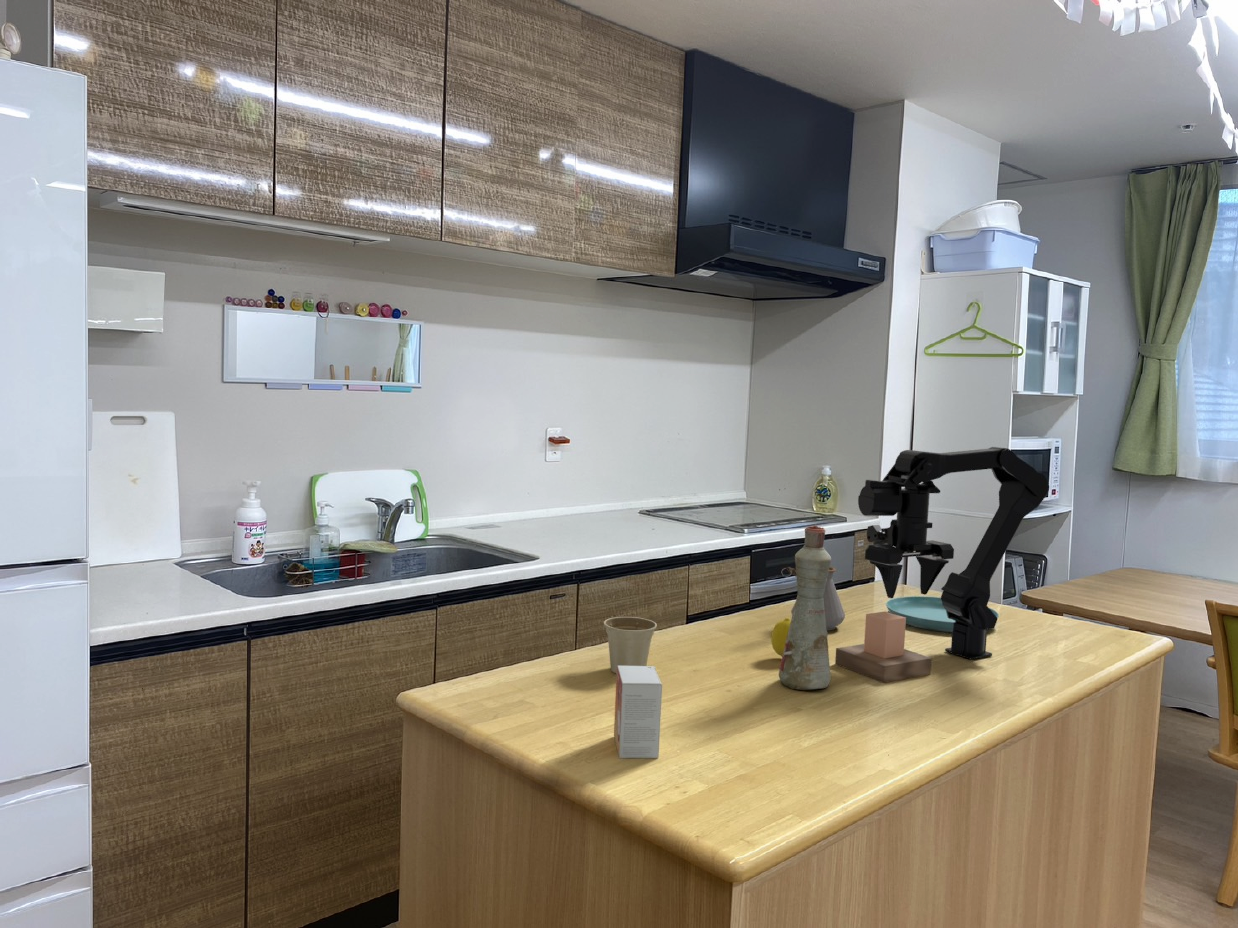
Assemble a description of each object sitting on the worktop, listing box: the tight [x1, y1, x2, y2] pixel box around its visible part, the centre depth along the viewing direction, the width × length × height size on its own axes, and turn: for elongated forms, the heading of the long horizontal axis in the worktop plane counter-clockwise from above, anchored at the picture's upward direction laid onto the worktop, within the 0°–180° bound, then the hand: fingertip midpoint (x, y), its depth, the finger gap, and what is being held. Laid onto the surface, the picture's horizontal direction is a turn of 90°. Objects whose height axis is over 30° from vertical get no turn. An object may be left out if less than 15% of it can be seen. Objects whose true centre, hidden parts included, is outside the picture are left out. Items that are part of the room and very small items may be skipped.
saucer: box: [885, 595, 1000, 633], centre depth 206 cm, size 24×24×3 cm
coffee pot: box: [781, 566, 846, 631], centre depth 193 cm, size 21×12×15 cm, turn 141°
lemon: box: [771, 617, 791, 658], centre depth 171 cm, size 6×6×8 cm
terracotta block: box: [863, 611, 907, 658], centre depth 167 cm, size 5×5×7 cm
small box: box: [613, 665, 663, 759], centre depth 126 cm, size 8×6×10 cm
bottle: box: [778, 524, 832, 691], centre depth 155 cm, size 9×9×28 cm
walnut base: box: [834, 643, 933, 683], centre depth 167 cm, size 12×12×3 cm
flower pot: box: [603, 616, 658, 675], centre depth 160 cm, size 9×9×9 cm
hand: (907, 596), depth 175 cm, fingers open, 9 cm apart
